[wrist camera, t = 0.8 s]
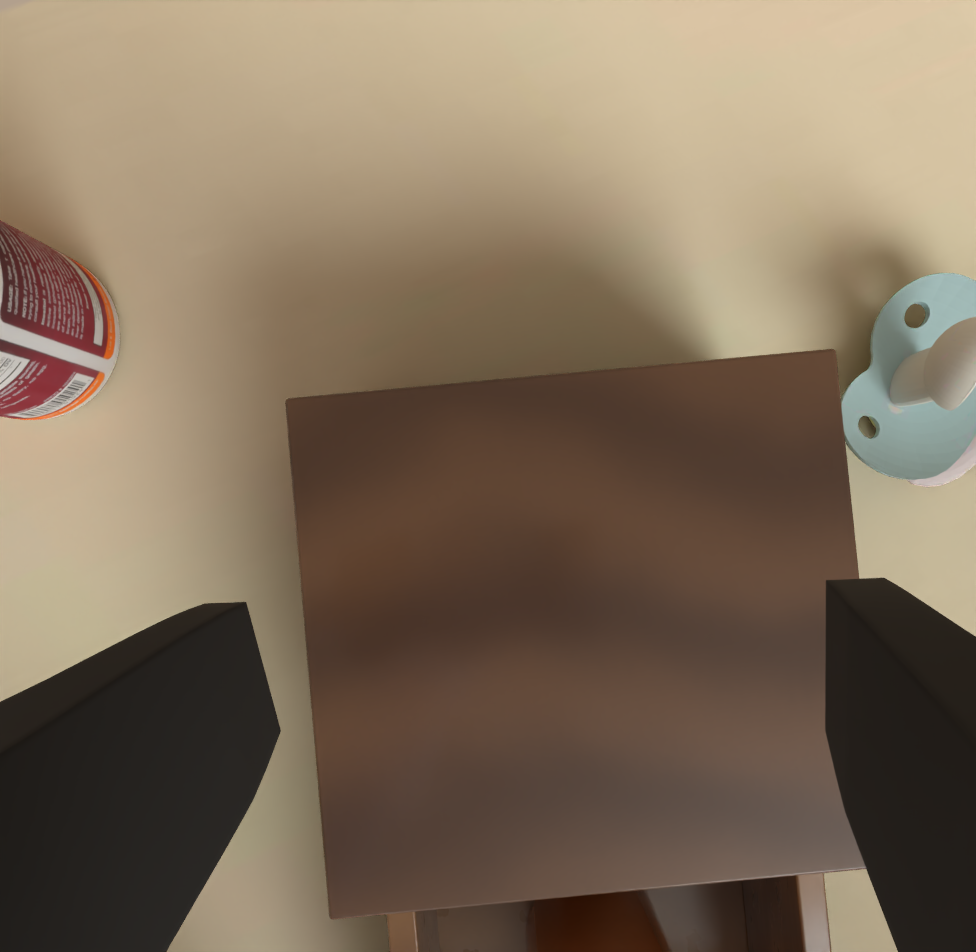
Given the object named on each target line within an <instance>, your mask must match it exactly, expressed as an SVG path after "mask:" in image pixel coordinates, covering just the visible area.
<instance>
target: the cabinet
mask: <svg viewBox="0 0 976 952" xmlns="http://www.w3.org/2000/svg"><path fill="white" fill-rule="evenodd" d="M285 404H286V416H287V428H288V439H289V451H290V463H291V474H292V486H293V498H294V509H295V521H296V533H297V544H298V556H299V568H300V579H301V591H302V603H303V614H304V626H305V638H306V649H307V661H308V673H309V684H310V696H311V708H312V719H313V731H314V743H315V754H316V766H317V778H318V789H319V801H320V813H321V824H322V836H323V848H324V859H325V871H326V883H327V894H328V906H329V916H330V919H343V918H354V917H364V916H375V915H385V914H396V913H406V912H417V911H427V910H438V909H448V908H459V907H469V906H480V905H490V904H501V903H511V902H522V901H532V900H543V899H553V898H564V897H574V896H585V895H596V894H606V893H617V892H627V891H638V890H648V889H659V888H669V887H680V886H690V885H701V884H711V883H722V882H732V881H743V880H753V879H764V878H774V877H785V876H795V875H806V874H816V873H827V872H837V871H848V870H859V869H866V866H865V864H864V861H863V858H862V856H861V853H860V850H859V848H858V845H857V843H856V840H855V837H854V835H853V832H852V829H851V826H850V824H849V821H848V818H847V816H846V813H845V810H844V806H843V802H842V798H841V794H840V790H839V786H838V782H837V778H836V774H835V770H834V766H833V761H832V757H831V753H830V749H829V744H828V740H827V736H826V732H825V665H826V580H843V579H859V573H858V563H857V553H856V543H855V534H854V524H853V514H852V504H851V495H850V485H849V475H848V466H847V456H846V446H845V436H844V427H843V417H842V407H841V398H840V388H839V378H838V368H837V359H836V351H835V350H834V349H826V350H815V351H804V352H793V353H781V354H770V355H759V356H748V357H737V358H726V359H715V360H704V361H693V362H682V363H671V364H660V365H649V366H638V367H627V368H616V369H605V370H594V371H583V372H572V373H561V374H550V375H539V376H528V377H517V378H506V379H495V380H484V381H473V382H462V383H451V384H440V385H429V386H418V387H407V388H396V389H385V390H374V391H363V392H352V393H341V394H330V395H319V396H308V397H297V398H288V399H286V402H285Z"/></svg>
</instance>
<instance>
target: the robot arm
mask: <svg viewBox="0 0 976 952" xmlns="http://www.w3.org/2000/svg"><path fill="white" fill-rule="evenodd" d="M280 731H281V730H280V726H279V723H278V719H277V715H276V711H275V708H274V704H273V700H272V697H271V693H270V689H269V685H268V682H267V678H266V674H265V670H264V667H263V663H262V659H261V656H260V652H259V648H258V644H257V641H256V637H255V633H254V630H253V626H252V622H251V618H250V615H249V611H248V607H247V604H246V602H235V603H208V604H202V605H199V606H197V607H194V608H191V609H188V610H186V611H183V612H181V613H179V614H176V615H174V616H172V617H170V618H167V619H165V620H163V621H161V622H159V623H157V624H155V625H153V626H150V627H148V628H146V629H144V630H142V631H140V632H138V633H136V634H134V635H132V636H130V637H128V638H126V639H124V640H123V641H121V642H119V643H117V644H115V645H113V646H111V647H109V648H107V649H105V650H103V651H101V652H99V653H97V654H95V655H93V656H91V657H89V658H87V659H86V660H84V661H82V662H80V663H78V664H76V665H74V666H72V667H70V668H68V669H66V670H64V671H62V672H60V673H58V674H56V675H54V676H52V677H51V678H49V679H47V680H45V681H43V682H40V683H38V684H36V685H34V686H32V687H30V688H28V689H26V690H24V691H22V692H20V693H18V694H16V695H14V696H12V697H10V698H8V699H5V700H3V701H1V702H0V952H166V951H167V949H168V947H169V946H170V944H171V942H172V941H173V939H174V937H175V935H176V934H177V932H178V930H179V929H180V927H181V925H182V923H183V922H184V920H185V918H186V916H187V915H188V913H189V911H190V910H191V908H192V906H193V904H194V903H195V901H196V899H197V898H198V896H199V894H200V892H201V891H202V889H203V887H204V886H205V884H206V882H207V880H208V879H209V877H210V875H211V873H212V872H213V870H214V868H215V867H216V865H217V863H218V861H219V860H220V858H221V856H222V855H223V853H224V851H225V849H226V847H227V846H228V844H229V842H230V840H231V839H232V837H233V835H234V833H235V832H236V830H237V828H238V826H239V825H240V823H241V821H242V819H243V817H244V816H245V814H246V812H247V810H248V808H249V806H250V805H251V803H252V801H253V799H254V797H255V794H256V792H257V790H258V787H259V785H260V783H261V780H262V778H263V776H264V773H265V771H266V768H267V766H268V763H269V761H270V758H271V755H272V753H273V750H274V747H275V745H276V742H277V739H278V737H279V734H280ZM825 732H826V736H827V740H828V744H829V749H830V753H831V757H832V761H833V766H834V770H835V774H836V778H837V782H838V786H839V790H840V794H841V798H842V802H843V806H844V810H845V813H846V816H847V818H848V821H849V824H850V826H851V829H852V832H853V835H854V837H855V840H856V843H857V845H858V848H859V850H860V853H861V856H862V858H863V861H864V864H865V866H866V869H867V872H868V874H869V877H870V880H871V882H872V885H873V887H874V890H875V893H876V895H877V898H878V900H879V903H880V906H881V908H882V911H883V914H884V916H885V919H886V921H887V924H888V927H889V929H890V932H891V934H892V937H893V940H894V942H895V945H896V947H897V950H898V952H976V637H975V636H974V635H972V634H971V633H969V632H967V631H966V630H964V629H963V628H961V627H960V626H958V625H957V624H955V623H954V622H952V621H951V620H949V619H948V618H946V617H945V616H943V615H942V614H940V613H939V612H937V611H936V610H934V609H933V608H931V607H930V606H928V605H927V604H925V603H924V602H922V601H921V600H919V599H918V598H916V597H915V596H913V595H911V594H910V593H908V592H907V591H905V590H904V589H902V588H901V587H899V586H897V585H896V584H894V583H892V582H890V581H889V580H887V579H885V578H869V579H843V580H826V665H825Z"/></svg>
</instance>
